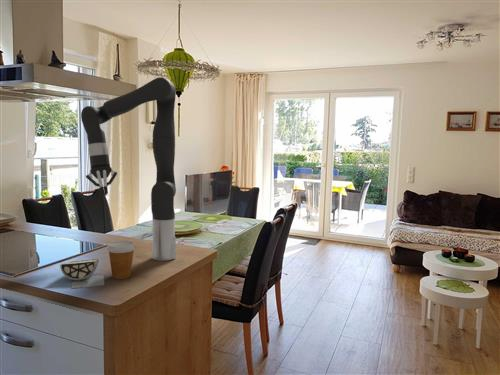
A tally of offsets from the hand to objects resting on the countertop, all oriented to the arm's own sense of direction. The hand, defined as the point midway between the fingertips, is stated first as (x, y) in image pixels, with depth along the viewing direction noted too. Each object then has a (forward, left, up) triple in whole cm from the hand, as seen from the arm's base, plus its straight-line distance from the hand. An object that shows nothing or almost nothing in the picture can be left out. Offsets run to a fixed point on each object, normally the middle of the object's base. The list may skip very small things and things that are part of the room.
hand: (104, 195), depth 157 cm
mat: (+6, +31, -26) cm, 41 cm away
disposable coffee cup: (-5, +28, -27) cm, 39 cm away
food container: (+7, +21, -24) cm, 33 cm away
